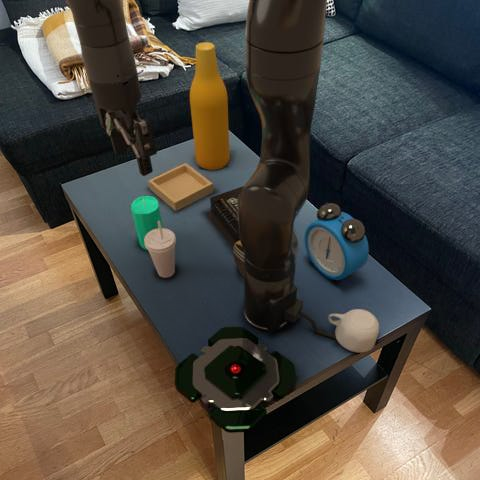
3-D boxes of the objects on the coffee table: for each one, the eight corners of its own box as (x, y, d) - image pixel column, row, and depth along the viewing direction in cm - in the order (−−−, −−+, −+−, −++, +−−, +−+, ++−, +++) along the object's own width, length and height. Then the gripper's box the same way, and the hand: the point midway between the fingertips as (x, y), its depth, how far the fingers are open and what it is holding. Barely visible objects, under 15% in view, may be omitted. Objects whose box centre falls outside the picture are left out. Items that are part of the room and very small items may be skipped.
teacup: (376, 342, 84) (367, 359, 88) (389, 314, 88) (380, 331, 93) (324, 318, 86) (318, 336, 91) (339, 292, 91) (333, 310, 95)
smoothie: (176, 284, 101) (167, 234, 90) (147, 280, 102) (135, 230, 91) (184, 263, 105) (176, 213, 94) (156, 259, 105) (145, 209, 94)
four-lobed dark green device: (232, 327, 94) (232, 312, 90) (304, 378, 86) (308, 364, 83) (165, 384, 85) (162, 369, 82) (239, 446, 78) (240, 433, 74)
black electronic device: (204, 212, 115) (198, 149, 101) (254, 195, 119) (255, 131, 105) (243, 264, 104) (243, 201, 91) (297, 243, 108) (304, 179, 94)
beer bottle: (204, 174, 124) (194, 59, 101) (190, 156, 129) (177, 42, 107) (235, 164, 127) (233, 49, 104) (220, 147, 132) (214, 34, 109)
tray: (213, 192, 120) (212, 183, 118) (175, 211, 115) (174, 202, 113) (186, 171, 125) (185, 162, 123) (149, 189, 121) (148, 180, 119)
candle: (151, 229, 112) (142, 186, 102) (170, 239, 109) (163, 196, 100) (134, 243, 109) (123, 201, 99) (153, 254, 106) (144, 211, 97)
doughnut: (231, 266, 104) (230, 231, 96) (245, 259, 105) (245, 225, 97) (255, 293, 99) (255, 259, 91) (269, 286, 100) (271, 252, 92)
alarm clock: (300, 257, 105) (307, 203, 93) (321, 245, 107) (330, 191, 95) (342, 292, 99) (355, 239, 87) (363, 279, 101) (378, 225, 89)
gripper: (67, 62, 74) (95, 154, 87) (114, 94, 67) (137, 189, 80) (109, 47, 77) (130, 139, 90) (158, 77, 70) (173, 172, 83)
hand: (133, 163), depth 85 cm, fingers open, 8 cm apart
